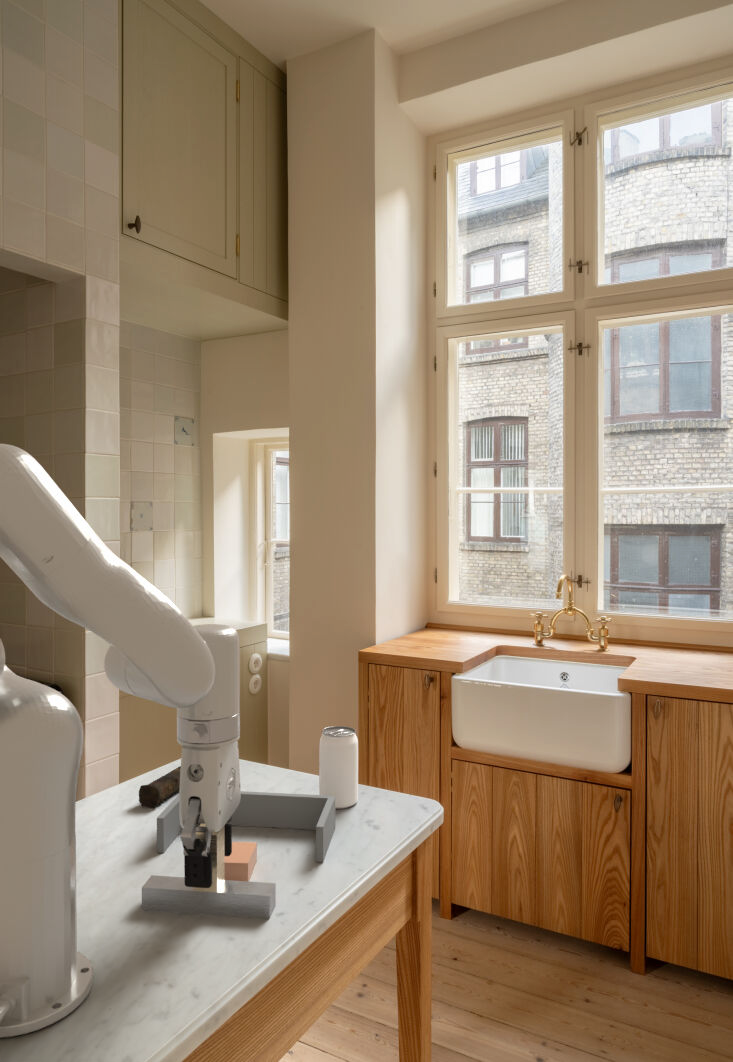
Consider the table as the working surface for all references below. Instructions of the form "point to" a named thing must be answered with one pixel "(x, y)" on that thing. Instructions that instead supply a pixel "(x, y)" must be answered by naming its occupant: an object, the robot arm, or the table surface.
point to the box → (266, 816)
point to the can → (339, 765)
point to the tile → (241, 861)
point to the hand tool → (160, 789)
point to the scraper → (211, 891)
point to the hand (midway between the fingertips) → (209, 868)
